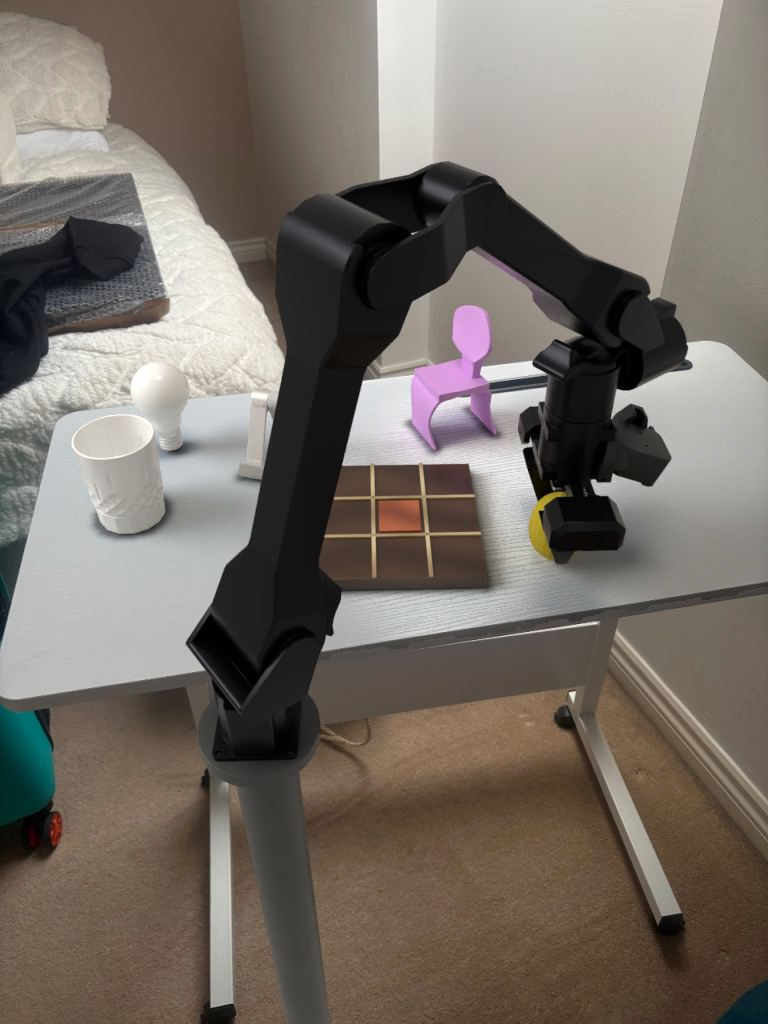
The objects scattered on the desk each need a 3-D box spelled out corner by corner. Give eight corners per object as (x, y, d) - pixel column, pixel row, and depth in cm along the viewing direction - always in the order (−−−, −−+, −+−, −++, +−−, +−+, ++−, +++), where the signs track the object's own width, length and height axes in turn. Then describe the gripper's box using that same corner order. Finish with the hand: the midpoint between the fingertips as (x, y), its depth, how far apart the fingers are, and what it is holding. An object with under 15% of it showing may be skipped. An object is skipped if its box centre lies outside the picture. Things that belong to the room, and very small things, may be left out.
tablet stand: (240, 480, 92) (231, 416, 87) (268, 441, 98) (261, 379, 92) (313, 494, 90) (308, 429, 85) (337, 453, 96) (334, 391, 90)
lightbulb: (134, 460, 95) (114, 376, 88) (159, 430, 100) (141, 348, 93) (186, 467, 94) (169, 383, 87) (208, 436, 99) (194, 354, 92)
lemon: (578, 541, 84) (590, 478, 79) (583, 579, 80) (596, 515, 74) (523, 537, 84) (532, 474, 79) (525, 575, 80) (534, 511, 75)
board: (486, 587, 79) (488, 574, 78) (318, 591, 79) (317, 578, 77) (467, 474, 93) (468, 461, 92) (324, 476, 92) (323, 464, 91)
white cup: (127, 549, 83) (106, 469, 77) (79, 519, 87) (54, 440, 81) (186, 509, 88) (171, 431, 82) (138, 482, 92) (119, 405, 85)
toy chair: (404, 419, 101) (405, 305, 92) (468, 404, 104) (476, 291, 94) (434, 456, 95) (439, 338, 86) (501, 438, 98) (513, 322, 88)
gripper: (707, 469, 64) (664, 610, 74) (643, 351, 78) (614, 483, 88) (563, 471, 63) (539, 613, 73) (525, 353, 78) (510, 484, 88)
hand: (555, 542), depth 81 cm, fingers closed on lemon, 5 cm apart
